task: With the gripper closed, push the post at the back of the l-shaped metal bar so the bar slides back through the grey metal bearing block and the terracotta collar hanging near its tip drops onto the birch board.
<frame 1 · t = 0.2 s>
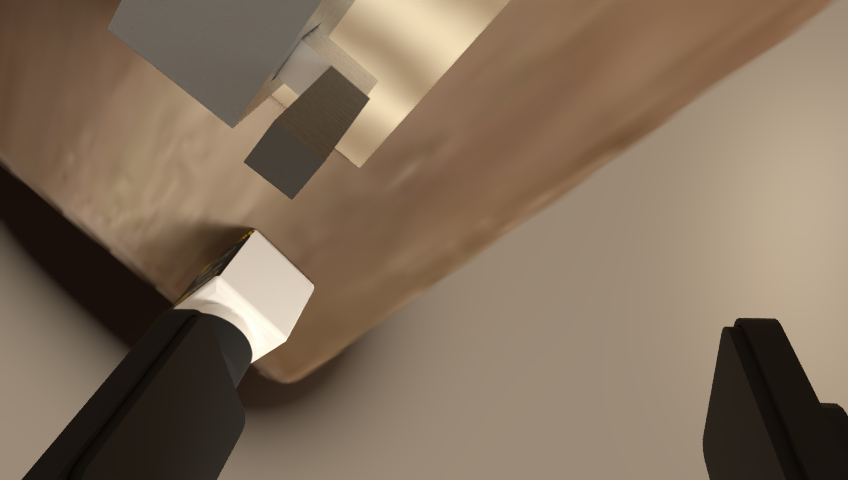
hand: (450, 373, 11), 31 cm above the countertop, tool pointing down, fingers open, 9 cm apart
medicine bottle: (261, 274, 52), on the countertop
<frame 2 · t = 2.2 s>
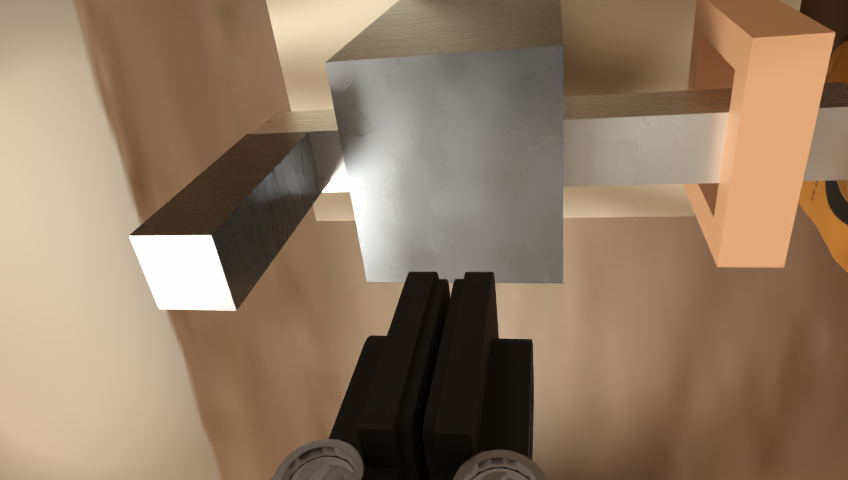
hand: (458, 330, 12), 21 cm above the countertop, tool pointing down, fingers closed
board: (517, 67, 30), on the countertop
bearing block: (485, 75, 30), resting on board
l-shaped metal bar: (526, 187, 18), point 14 cm above the countertop, slide at 0.0 cm, touching collar
collar: (713, 88, 24), point 5 cm above the countertop, touching l-shaped metal bar
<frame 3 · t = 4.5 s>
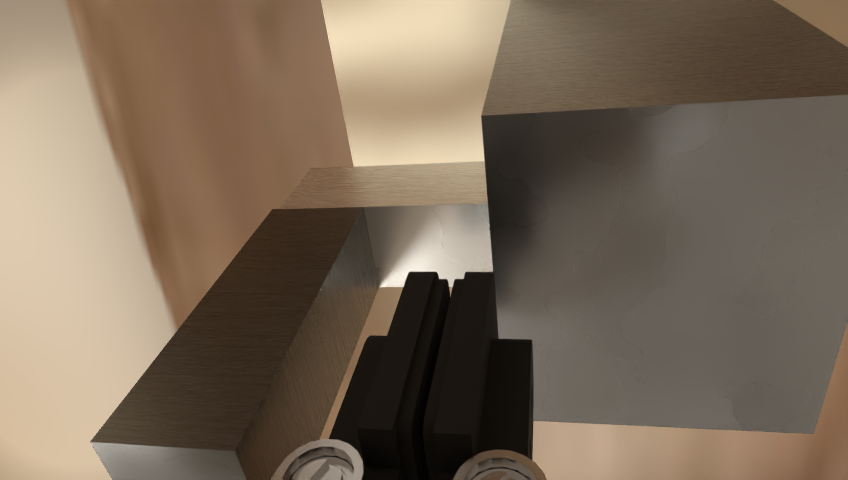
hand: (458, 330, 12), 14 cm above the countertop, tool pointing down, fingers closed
board: (651, 87, 23), on the countertop
bearing block: (612, 98, 22), resting on board
l-shaped metal bar: (722, 311, 12), point 14 cm above the countertop, slide at 1.5 cm, touching collar, gripper
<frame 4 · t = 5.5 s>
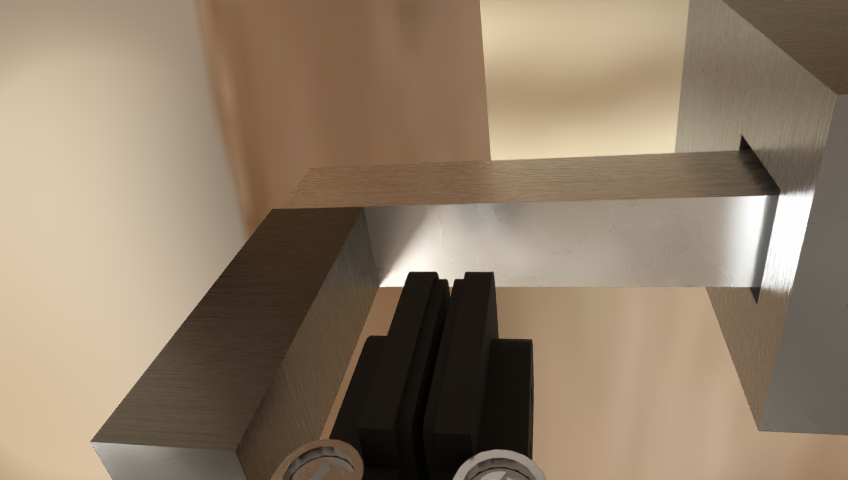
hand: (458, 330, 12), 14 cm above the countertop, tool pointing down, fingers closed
board: (823, 76, 22), on the countertop
bearing block: (786, 87, 21), resting on board
l-shaped metal bar: (722, 311, 12), point 14 cm above the countertop, slide at 7.3 cm, touching gripper
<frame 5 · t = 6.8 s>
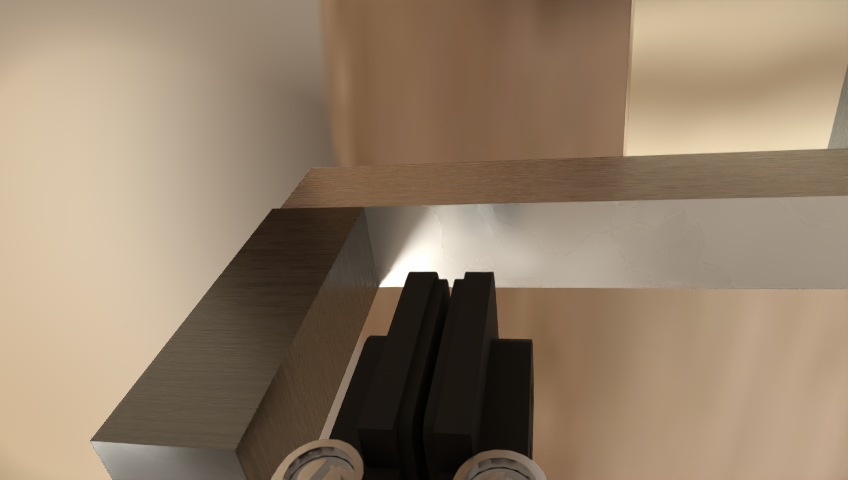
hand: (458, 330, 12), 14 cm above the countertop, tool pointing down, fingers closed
l-shaped metal bar: (722, 313, 12), point 14 cm above the countertop, slide at 12.6 cm, touching gripper
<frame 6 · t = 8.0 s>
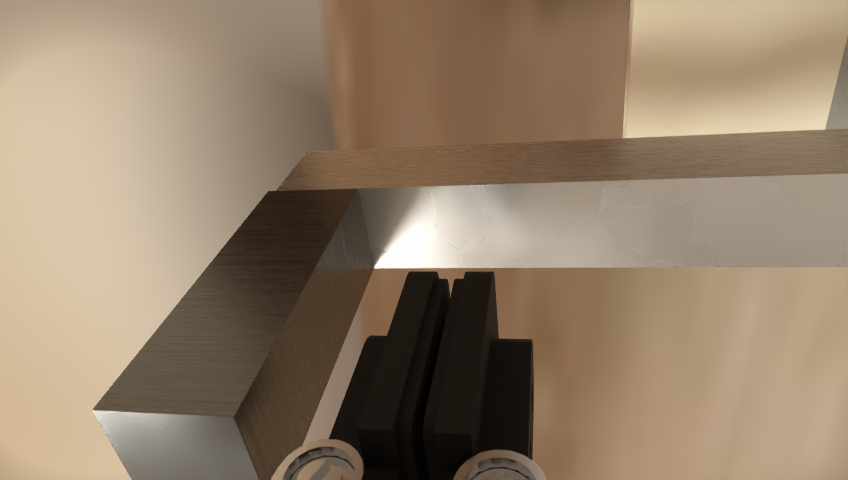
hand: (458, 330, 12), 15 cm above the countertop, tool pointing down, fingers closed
l-shaped metal bar: (708, 287, 12), point 14 cm above the countertop, slide at 12.8 cm
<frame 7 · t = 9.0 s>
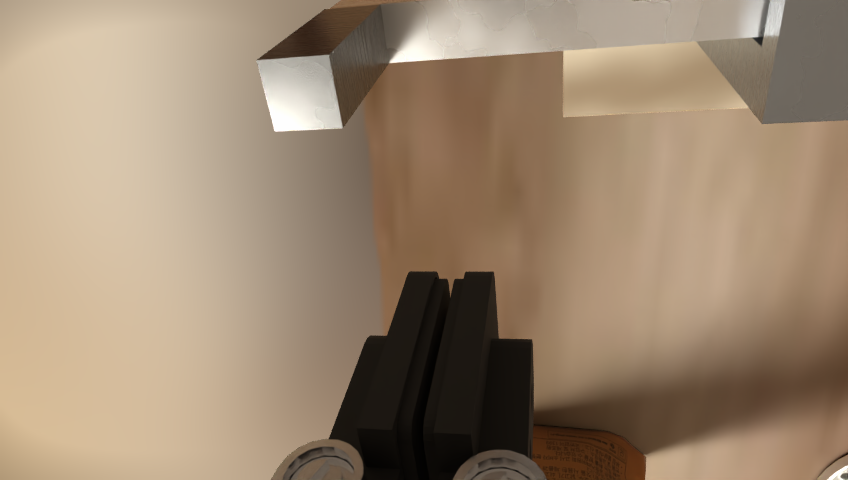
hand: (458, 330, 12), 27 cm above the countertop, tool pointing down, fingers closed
pancake mix bag: (548, 435, 53), on the countertop
l-shaped metal bar: (577, 35, 22), point 14 cm above the countertop, slide at 12.8 cm
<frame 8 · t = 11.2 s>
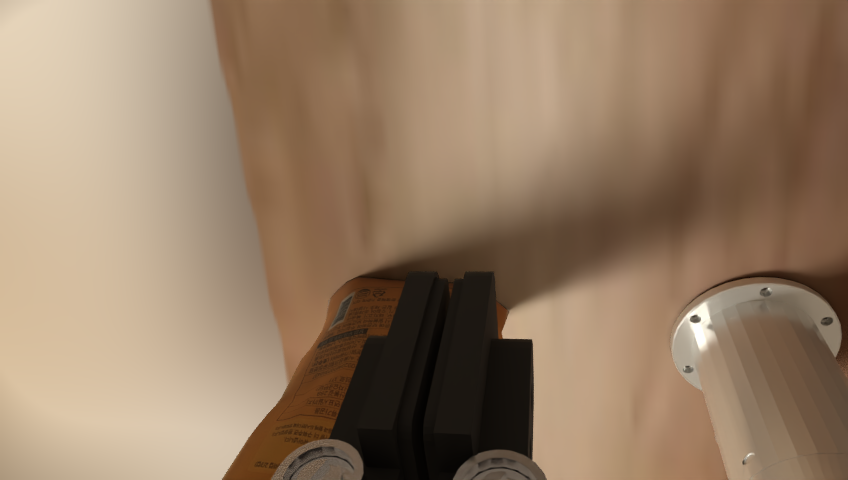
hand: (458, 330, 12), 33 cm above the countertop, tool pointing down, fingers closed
pancake mix bag: (416, 293, 54), on the countertop
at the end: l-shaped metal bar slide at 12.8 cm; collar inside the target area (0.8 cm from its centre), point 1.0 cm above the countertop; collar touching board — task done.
